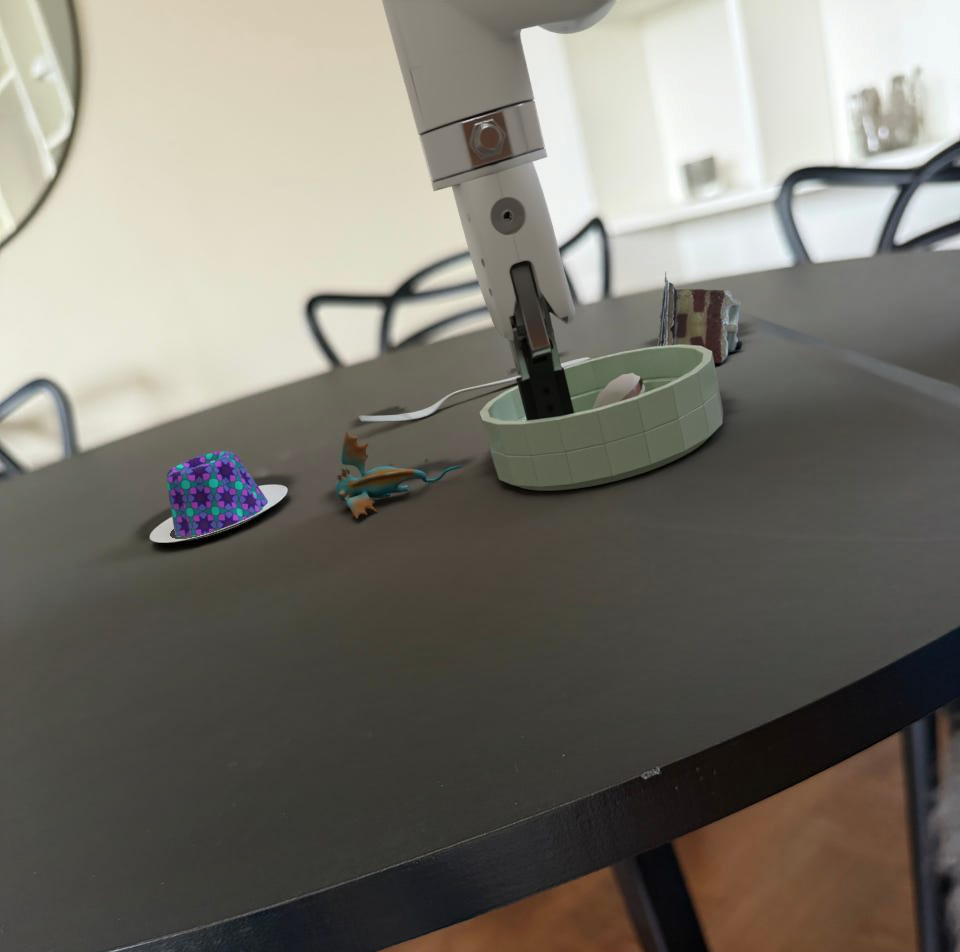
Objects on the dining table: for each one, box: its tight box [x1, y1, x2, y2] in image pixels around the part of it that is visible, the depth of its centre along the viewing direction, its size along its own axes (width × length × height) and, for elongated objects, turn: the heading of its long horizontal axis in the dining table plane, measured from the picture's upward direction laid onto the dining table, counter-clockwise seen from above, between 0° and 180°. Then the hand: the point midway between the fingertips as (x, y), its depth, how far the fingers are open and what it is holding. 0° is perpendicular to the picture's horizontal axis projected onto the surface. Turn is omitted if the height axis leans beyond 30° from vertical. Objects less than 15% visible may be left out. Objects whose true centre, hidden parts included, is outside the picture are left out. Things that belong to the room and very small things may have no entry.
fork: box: [358, 356, 591, 423], centre depth 102 cm, size 3×24×2 cm, turn 105°
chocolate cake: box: [657, 271, 743, 365], centre depth 91 cm, size 10×7×12 cm
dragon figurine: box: [335, 431, 464, 519], centre depth 77 cm, size 6×7×8 cm
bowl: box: [479, 344, 724, 492], centre depth 72 cm, size 16×16×5 cm
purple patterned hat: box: [149, 450, 288, 544], centre depth 85 cm, size 12×12×5 cm
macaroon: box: [593, 373, 645, 409], centre depth 74 cm, size 4×5×2 cm
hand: (553, 428), depth 72 cm, fingers closed
